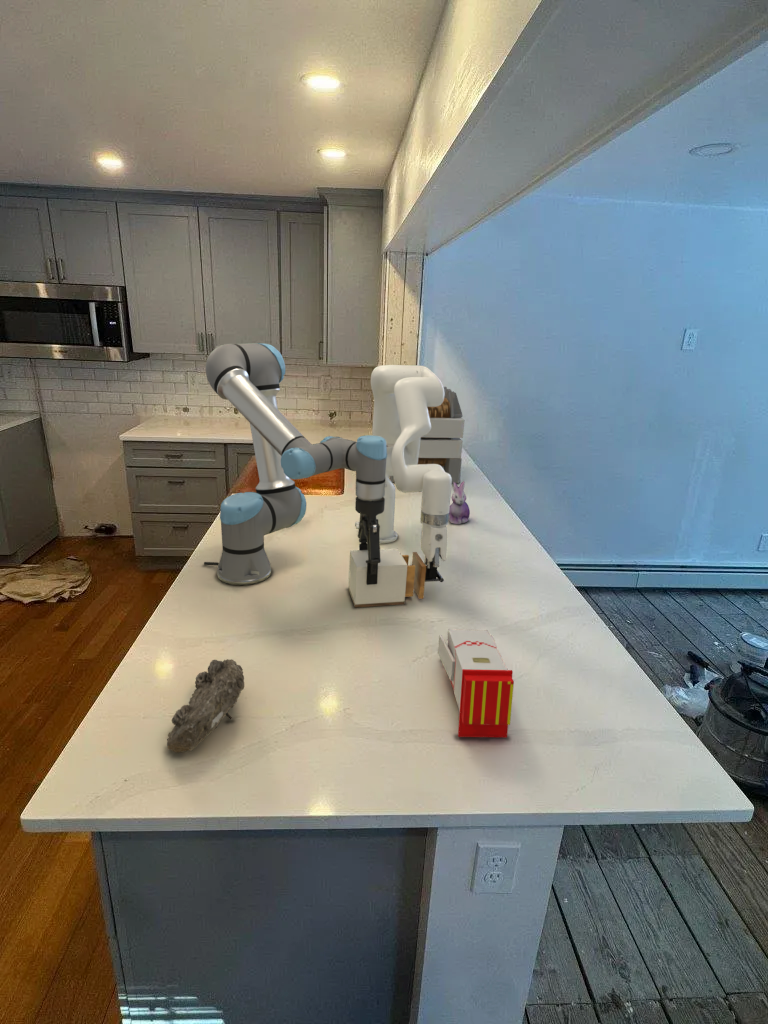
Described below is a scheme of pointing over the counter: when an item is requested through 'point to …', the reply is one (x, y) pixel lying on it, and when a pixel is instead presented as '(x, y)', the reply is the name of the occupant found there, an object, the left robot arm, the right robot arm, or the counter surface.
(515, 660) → the counter surface
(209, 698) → the fossil
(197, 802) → the counter surface
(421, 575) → the drawer
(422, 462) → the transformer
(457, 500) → the figurine
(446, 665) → the toy
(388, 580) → the off-white box shell
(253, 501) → the left robot arm
